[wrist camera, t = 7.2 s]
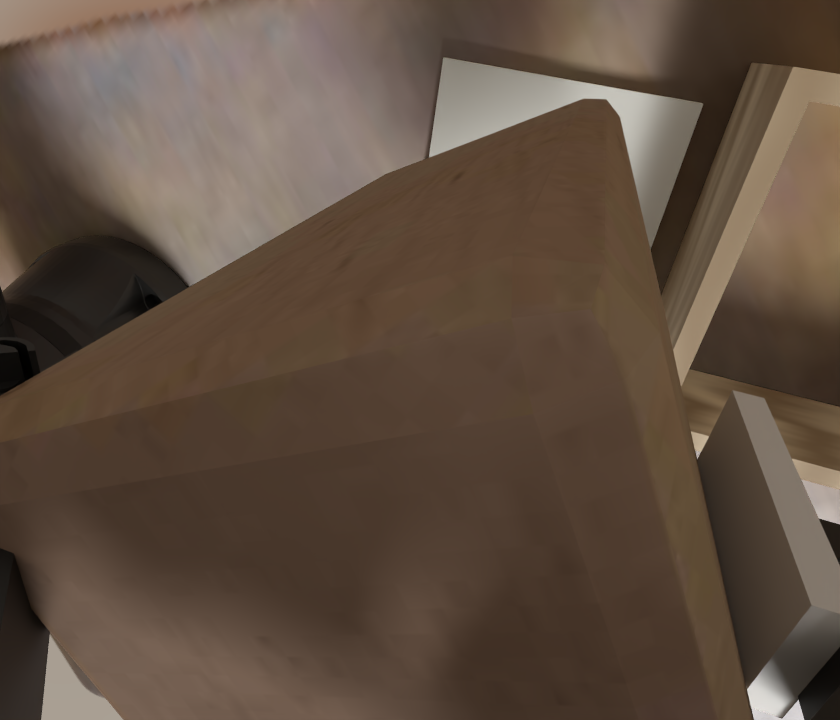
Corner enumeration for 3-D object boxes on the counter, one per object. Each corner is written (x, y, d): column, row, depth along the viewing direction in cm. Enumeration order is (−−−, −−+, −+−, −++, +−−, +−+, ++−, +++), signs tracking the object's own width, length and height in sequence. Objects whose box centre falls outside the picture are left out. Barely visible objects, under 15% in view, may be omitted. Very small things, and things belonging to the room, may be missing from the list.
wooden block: (372, 177, 25) (-139, 463, 8) (612, 85, 21) (638, 259, 4) (451, 377, 28) (218, 872, 11) (669, 331, 24) (813, 992, 7)
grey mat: (412, 284, 37) (409, 287, 36) (446, 57, 30) (443, 57, 30) (617, 335, 35) (617, 339, 34) (701, 102, 28) (703, 103, 28)
